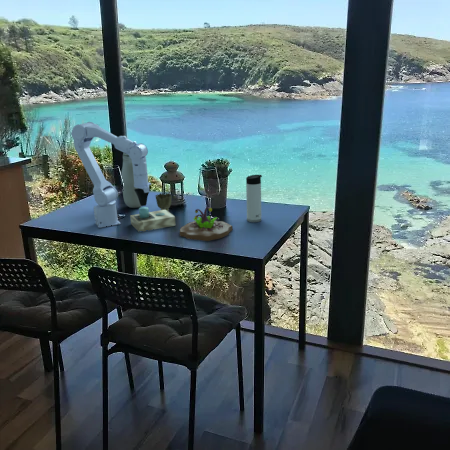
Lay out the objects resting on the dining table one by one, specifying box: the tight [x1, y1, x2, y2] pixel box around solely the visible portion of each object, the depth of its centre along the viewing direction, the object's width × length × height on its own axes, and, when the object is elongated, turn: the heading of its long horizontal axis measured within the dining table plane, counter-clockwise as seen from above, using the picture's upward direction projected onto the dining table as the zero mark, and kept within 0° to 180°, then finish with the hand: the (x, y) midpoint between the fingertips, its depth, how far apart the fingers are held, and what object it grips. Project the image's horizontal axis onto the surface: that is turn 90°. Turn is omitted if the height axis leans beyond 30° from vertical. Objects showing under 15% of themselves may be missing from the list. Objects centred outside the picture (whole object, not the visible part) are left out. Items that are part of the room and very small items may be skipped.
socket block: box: [129, 209, 176, 232], centre depth 208 cm, size 16×12×4 cm
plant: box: [179, 206, 234, 242], centre depth 196 cm, size 20×20×11 cm
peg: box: [138, 206, 150, 218], centre depth 205 cm, size 4×4×4 cm
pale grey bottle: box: [120, 152, 142, 209], centre depth 230 cm, size 10×10×28 cm
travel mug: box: [245, 174, 263, 223], centre depth 206 cm, size 6×7×20 cm
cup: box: [154, 192, 173, 212], centre depth 225 cm, size 8×7×8 cm
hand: (143, 205), depth 204 cm, fingers closed
